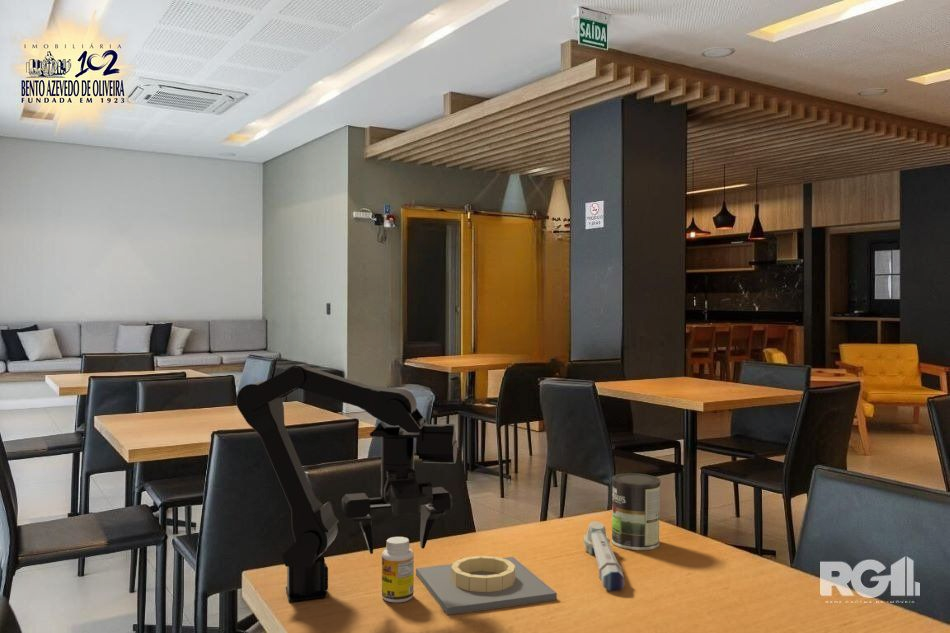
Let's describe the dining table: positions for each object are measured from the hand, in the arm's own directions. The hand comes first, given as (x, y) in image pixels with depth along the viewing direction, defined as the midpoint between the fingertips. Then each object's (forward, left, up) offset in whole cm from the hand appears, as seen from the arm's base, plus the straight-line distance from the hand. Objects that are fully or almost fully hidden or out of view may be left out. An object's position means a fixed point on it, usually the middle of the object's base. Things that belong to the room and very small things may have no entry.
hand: (397, 550), depth 132 cm
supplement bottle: (0, 0, -9) cm, 9 cm away
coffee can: (+56, +13, -9) cm, 58 cm away
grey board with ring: (+16, 0, -8) cm, 18 cm away
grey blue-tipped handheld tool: (+42, +2, -9) cm, 43 cm away
